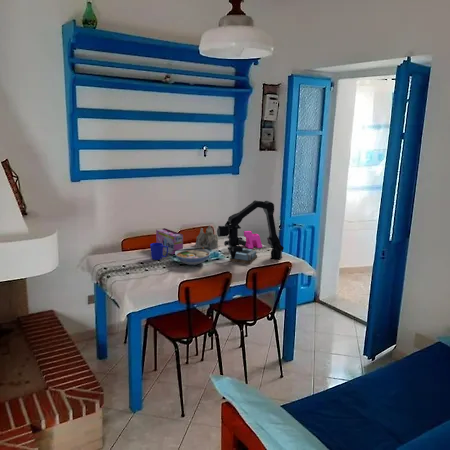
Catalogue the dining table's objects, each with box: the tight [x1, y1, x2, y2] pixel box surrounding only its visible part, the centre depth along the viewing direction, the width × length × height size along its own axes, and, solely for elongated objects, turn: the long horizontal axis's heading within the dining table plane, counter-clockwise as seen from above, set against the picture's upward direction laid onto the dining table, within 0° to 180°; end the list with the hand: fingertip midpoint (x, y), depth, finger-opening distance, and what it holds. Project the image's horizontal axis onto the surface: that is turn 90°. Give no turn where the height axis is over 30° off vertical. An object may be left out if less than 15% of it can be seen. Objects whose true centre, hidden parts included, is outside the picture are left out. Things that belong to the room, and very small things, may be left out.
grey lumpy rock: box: [194, 224, 219, 250], centre depth 327 cm, size 16×16×15 cm
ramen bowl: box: [172, 247, 211, 266], centre depth 289 cm, size 25×23×8 cm
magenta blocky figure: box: [243, 230, 263, 250], centre depth 329 cm, size 12×10×10 cm
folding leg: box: [230, 252, 251, 261], centre depth 293 cm, size 14×3×4 cm, turn 66°
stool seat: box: [229, 247, 258, 265], centre depth 298 cm, size 14×14×6 cm
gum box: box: [155, 228, 184, 256], centre depth 316 cm, size 24×8×14 cm, turn 41°
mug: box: [149, 242, 169, 261], centre depth 297 cm, size 8×12×10 cm
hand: (233, 258), depth 292 cm, fingers closed
